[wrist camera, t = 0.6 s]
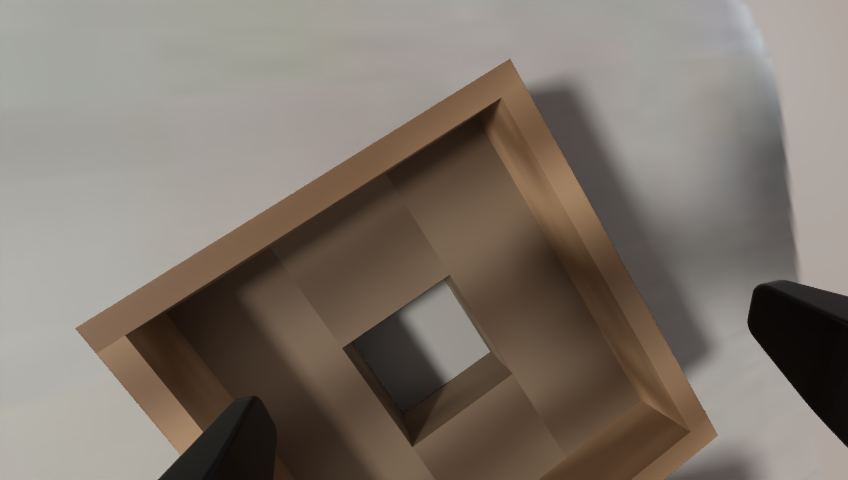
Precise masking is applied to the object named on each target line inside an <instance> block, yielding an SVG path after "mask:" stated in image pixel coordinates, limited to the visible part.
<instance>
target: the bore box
mask: <svg viewBox="0 0 848 480" xmlns="http://www.w3.org/2000/svg"><path fill="white" fill-rule="evenodd" d="M443 279H444V280H445V281H446V283H447V284H448V286H449V288H450V289H451V291H452V292H453V294H454V295H455V297H456V299H457V300H458V302H459V303H460V305H461V306H462V308H463V309H464V311H465V313H466V314H467V316H468V317H469V319H470V320H471V322H472V324H473V325H474V327H475V328H476V330H477V331H478V333H479V334H480V336H481V338H482V339H483V341H484V342H485V344H486V345H487V347H488V349H489V350H490V353H489V354H487V355H486V356H484V357H483V358H482V359H480V360H479V361H477V362H476V363H475V364H473V365H472V366H470V367H469V368H468V369H466V370H465V371H464V372H462V373H461V374H459V375H458V376H457V377H455V378H454V379H452V380H451V381H450V382H448V383H447V384H445V385H444V386H443V387H441V388H440V389H438V390H437V391H436V392H434V393H433V394H432V395H430V396H429V397H427V398H426V399H425V400H423V401H422V402H420V403H419V404H418V405H416V406H415V407H413V408H412V409H411V410H409V411H408V412H406V413H405V414H404V415H403V413H402V412H401V411H400V409H399V408H398V406H397V405H396V403H395V402H394V401H393V399H392V398H391V396H390V395H389V393H388V392H387V391H386V389H385V388H384V386H383V385H382V384H381V382H380V381H379V379H378V378H377V376H376V375H375V374H374V372H373V371H372V369H371V368H370V366H369V365H368V364H367V362H366V361H365V359H364V358H363V357H362V355H361V354H360V352H359V351H358V349H357V348H356V347H355V345H354V344H353V342H352V341H353V340H355V339H356V338H358V337H359V336H361V335H362V334H363V333H365V332H366V331H368V330H369V329H371V328H372V327H374V326H375V325H377V324H378V323H380V322H381V321H383V320H384V319H385V318H387V317H388V316H390V315H391V314H393V313H394V312H396V311H397V310H399V309H400V308H402V307H403V306H405V305H406V304H407V303H409V302H410V301H412V300H413V299H415V298H416V297H418V296H419V295H421V294H422V293H424V292H425V291H427V290H428V289H429V288H431V287H432V286H434V285H435V284H437V283H438V282H440V281H441V280H443ZM75 329H76V330H77V331H78V332H79V334H80V335H81V336H82V337H83V338H84V340H85V341H86V342H87V343H88V344H89V346H90V347H91V348H92V349H93V350H94V352H95V353H96V354H97V355H98V356H99V358H100V359H101V360H102V361H103V362H104V364H105V365H106V366H107V367H108V368H109V370H110V371H111V372H112V373H113V374H114V376H115V377H116V378H117V379H118V380H119V382H120V383H121V384H122V385H123V386H124V388H125V389H126V390H127V391H128V392H129V394H130V395H131V396H132V397H133V398H134V400H135V401H136V402H137V403H138V404H139V406H140V407H141V408H142V409H143V410H144V412H145V413H146V414H147V415H148V416H149V418H150V419H151V420H152V421H153V422H154V424H155V425H156V426H157V427H158V429H159V430H160V431H161V432H162V433H163V435H164V436H165V437H166V438H167V439H168V441H169V442H170V443H171V444H172V445H173V447H174V448H175V449H176V450H177V451H178V453H179V454H180V455H182V454H183V453H184V452H185V451H186V450H187V449H188V448H189V447H190V446H191V445H192V443H193V442H194V441H195V440H196V439H197V438H198V437H199V436H200V435H201V434H202V433H203V432H204V431H205V430H206V429H207V428H208V427H209V426H210V425H211V424H212V422H213V421H214V420H215V419H216V418H217V417H218V416H219V415H220V414H221V413H222V412H223V411H224V410H225V409H226V408H227V407H228V406H229V405H230V404H231V403H232V402H233V401H234V400H237V399H240V398H244V397H249V396H258V397H260V398H261V399H262V401H263V403H264V404H265V406H266V408H267V410H268V412H269V414H270V415H271V417H272V419H273V421H274V423H275V425H276V428H277V436H278V437H277V449H276V460H275V471H274V480H664V479H665V478H666V477H667V476H669V475H670V474H671V473H672V472H674V471H675V470H676V469H677V468H679V467H680V466H681V465H682V464H683V463H685V462H686V461H687V460H688V459H690V458H691V457H692V456H693V455H695V454H696V453H697V452H698V451H699V450H701V449H702V448H703V447H704V446H706V445H707V444H708V443H709V442H711V441H712V440H713V439H714V438H715V437H717V436H718V435H717V433H716V431H715V429H714V427H713V426H712V424H711V422H710V420H709V418H708V416H707V415H706V413H705V411H704V409H703V407H702V406H701V404H700V402H699V400H698V398H697V397H696V395H695V393H694V391H693V389H692V388H691V386H690V384H689V382H688V380H687V378H686V377H685V375H684V373H683V371H682V369H681V368H680V366H679V364H678V362H677V360H676V359H675V357H674V355H673V353H672V351H671V349H670V348H669V346H668V344H667V342H666V340H665V339H664V337H663V335H662V333H661V331H660V330H659V328H658V326H657V324H656V322H655V320H654V319H653V317H652V315H651V313H650V311H649V310H648V308H647V306H646V304H645V302H644V301H643V299H642V297H641V295H640V293H639V292H638V290H637V288H636V286H635V284H634V282H633V281H632V279H631V277H630V275H629V273H628V272H627V270H626V268H625V266H624V264H623V263H622V261H621V259H620V257H619V255H618V253H617V252H616V250H615V248H614V246H613V244H612V243H611V241H610V239H609V237H608V235H607V234H606V232H605V230H604V228H603V226H602V224H601V223H600V221H599V219H598V217H597V215H596V214H595V212H594V210H593V208H592V206H591V205H590V203H589V201H588V199H587V197H586V196H585V194H584V192H583V190H582V188H581V186H580V185H579V183H578V181H577V179H576V177H575V176H574V174H573V172H572V170H571V168H570V167H569V165H568V163H567V161H566V159H565V157H564V156H563V154H562V152H561V150H560V148H559V147H558V145H557V143H556V141H555V139H554V138H553V136H552V134H551V132H550V130H549V128H548V127H547V125H546V123H545V121H544V119H543V118H542V116H541V114H540V112H539V110H538V109H537V107H536V105H535V103H534V101H533V100H532V98H531V96H530V94H529V92H528V90H527V89H526V87H525V85H524V83H523V81H522V80H521V78H520V76H519V74H518V72H517V71H516V69H515V67H514V65H513V63H512V61H511V60H510V59H509V60H507V61H506V62H504V63H502V64H501V65H499V66H498V67H496V68H494V69H493V70H491V71H489V72H488V73H486V74H485V75H483V76H481V77H480V78H478V79H477V80H475V81H473V82H472V83H470V84H469V85H467V86H465V87H464V88H462V89H460V90H459V91H457V92H456V93H454V94H452V95H451V96H449V97H448V98H446V99H444V100H443V101H441V102H440V103H438V104H436V105H435V106H433V107H431V108H430V109H428V110H427V111H425V112H423V113H422V114H420V115H419V116H417V117H415V118H414V119H412V120H410V121H409V122H407V123H406V124H404V125H402V126H401V127H399V128H398V129H396V130H394V131H393V132H391V133H390V134H388V135H386V136H385V137H383V138H381V139H380V140H378V141H377V142H375V143H373V144H372V145H370V146H369V147H367V148H365V149H364V150H362V151H361V152H359V153H357V154H356V155H354V156H352V157H351V158H349V159H348V160H346V161H344V162H343V163H341V164H340V165H338V166H336V167H335V168H333V169H332V170H330V171H328V172H327V173H325V174H323V175H322V176H320V177H319V178H317V179H315V180H314V181H312V182H311V183H309V184H307V185H306V186H304V187H303V188H301V189H299V190H298V191H296V192H294V193H293V194H291V195H290V196H288V197H286V198H285V199H283V200H282V201H280V202H278V203H277V204H275V205H274V206H272V207H270V208H269V209H267V210H265V211H264V212H262V213H261V214H259V215H257V216H256V217H254V218H253V219H251V220H249V221H248V222H246V223H244V224H243V225H241V226H240V227H238V228H236V229H235V230H233V231H232V232H230V233H228V234H227V235H225V236H224V237H222V238H220V239H219V240H217V241H215V242H214V243H212V244H211V245H209V246H207V247H206V248H204V249H203V250H201V251H199V252H198V253H196V254H195V255H193V256H191V257H190V258H188V259H186V260H185V261H183V262H182V263H180V264H178V265H177V266H175V267H174V268H172V269H170V270H169V271H167V272H166V273H164V274H162V275H161V276H159V277H157V278H156V279H154V280H153V281H151V282H149V283H148V284H146V285H145V286H143V287H141V288H140V289H138V290H137V291H135V292H133V293H132V294H130V295H128V296H127V297H125V298H124V299H122V300H120V301H119V302H117V303H116V304H114V305H112V306H111V307H109V308H108V309H106V310H104V311H103V312H101V313H99V314H98V315H96V316H95V317H93V318H91V319H90V320H88V321H87V322H85V323H83V324H82V325H80V326H78V327H77V328H75Z"/></svg>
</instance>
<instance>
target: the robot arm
mask: <svg viewBox="0 0 848 480" xmlns="http://www.w3.org/2000/svg"><path fill="white" fill-rule="evenodd" d="M747 322H748V327H749V330H750V332H751V334H752V335H753V337H754V338H755V339H756V341H757V342H758V343H759V344H760V346H761V347H762V348H763V349H764V351H765V352H766V353H767V354H768V356H769V357H770V358H771V359H772V361H773V362H774V363H775V364H776V366H777V367H778V368H779V369H780V371H781V372H782V373H783V374H784V376H785V377H786V378H787V379H788V381H789V382H790V383H791V384H792V386H793V387H794V388H795V389H796V391H797V392H798V393H799V394H800V396H801V397H802V398H803V399H804V400H805V402H806V403H807V404H808V405H809V406H810V408H811V409H812V410H813V411H814V412H815V413H816V415H817V416H818V417H820V419H821V420H822V421H823V422H824V423H825V424H826V425H827V426H828V428H829V429H830V430H831V431H832V432H833V433H834V434H835V435H836V436H837V437H838V438H839V439H840V440H841V441H842V442H843V443H844V444H845V445H846V446H847V447H848V296H844V295H840V294H836V293H832V292H829V291H825V290H821V289H817V288H814V287H809V286H806V285H802V284H798V283H794V282H791V281H786V280H777V281H772V282H768V283H763V284H760V285H758V286H756V288H755V289H754V291H753V294H752V299H751V304H750V310H749V315H748V321H747ZM277 437H278V436H277V428H276V425H275V423H274V421H273V419H272V417H271V415H270V414H269V412H268V410H267V408H266V406H265V404H264V403H263V401H262V399H261V398H260V397H258V396H249V397H244V398H240V399H237V400H234V401H233V402H232V403H231V404H230V405H229V406H228V407H227V408H226V409H225V410H224V411H223V412H222V413H221V414H220V415H219V416H218V417H217V418H216V419H215V420H214V421H213V422H212V424H211V425H210V426H209V427H208V428H207V429H206V430H205V431H204V432H203V433H202V434H201V435H200V436H199V437H198V438H197V439H196V440H195V441H194V442H193V443H192V445H191V446H190V447H189V448H188V449H187V450H186V451H185V452H184V453H183V454H182V455H181V456H180V457H179V458H178V459H177V460H176V461H175V462H174V463H173V464H172V466H171V467H170V468H169V469H168V470H167V471H166V472H165V473H164V474H163V475H162V476H161V477H160V478H159V479H158V480H274V471H275V460H276V449H277Z"/></svg>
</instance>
